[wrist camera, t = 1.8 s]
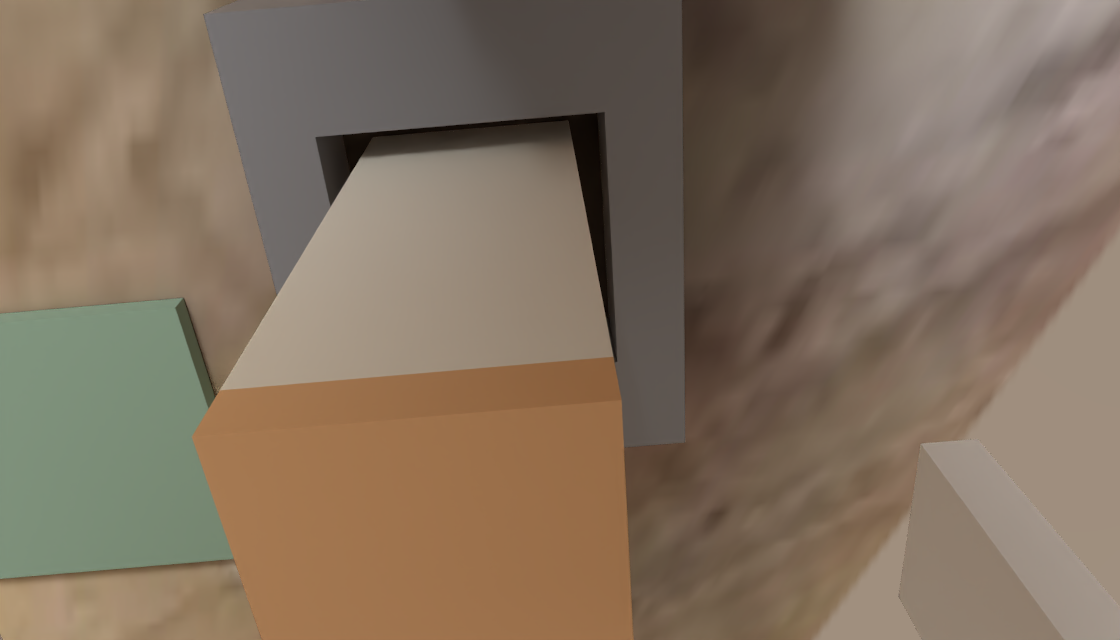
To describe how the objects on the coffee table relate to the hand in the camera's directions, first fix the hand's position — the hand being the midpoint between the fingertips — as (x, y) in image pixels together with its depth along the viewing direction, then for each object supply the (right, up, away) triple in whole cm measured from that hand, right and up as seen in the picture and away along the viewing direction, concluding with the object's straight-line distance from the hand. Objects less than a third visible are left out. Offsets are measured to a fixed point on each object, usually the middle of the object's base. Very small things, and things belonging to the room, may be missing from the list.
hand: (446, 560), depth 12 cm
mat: (-13, 0, +14) cm, 19 cm away
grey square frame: (0, +6, +11) cm, 12 cm away
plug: (0, +6, +11) cm, 12 cm away
